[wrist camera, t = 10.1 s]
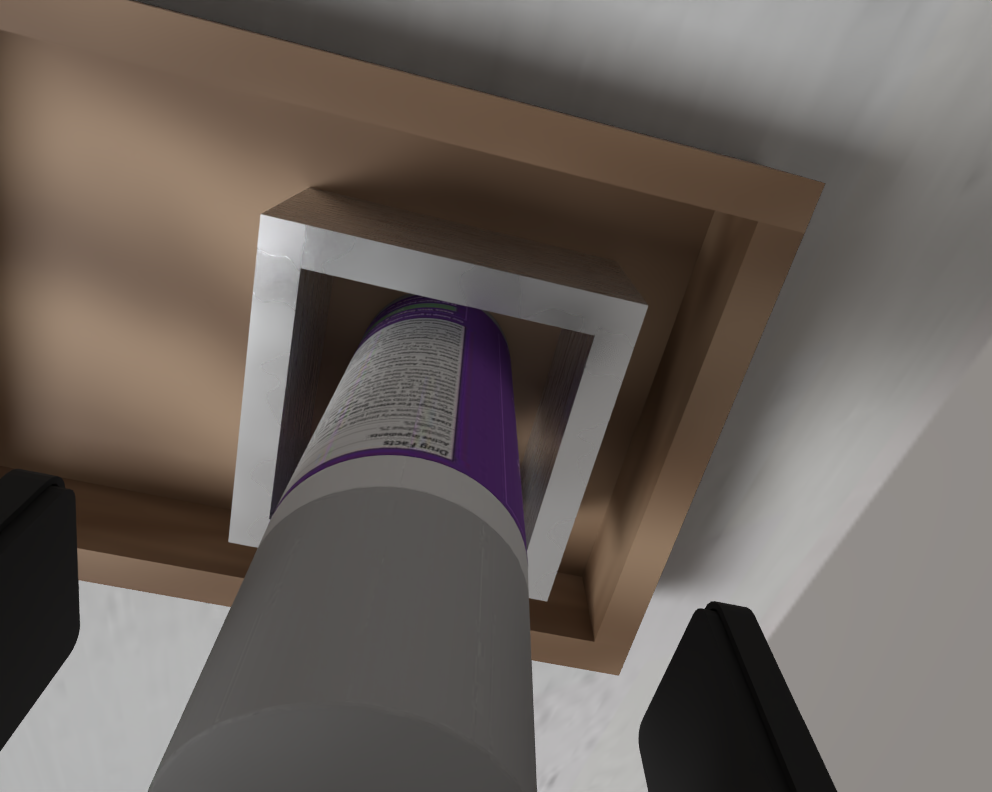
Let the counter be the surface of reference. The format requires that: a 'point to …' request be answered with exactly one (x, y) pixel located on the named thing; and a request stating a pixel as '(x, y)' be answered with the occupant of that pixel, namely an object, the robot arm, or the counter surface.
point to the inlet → (443, 276)
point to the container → (383, 588)
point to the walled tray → (337, 282)
